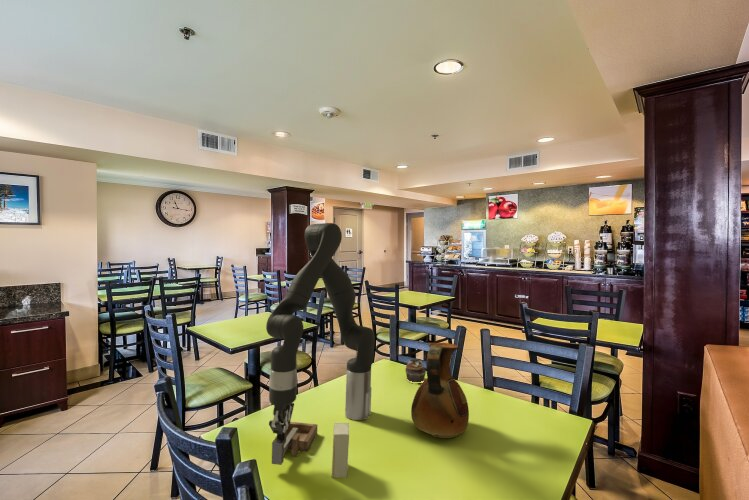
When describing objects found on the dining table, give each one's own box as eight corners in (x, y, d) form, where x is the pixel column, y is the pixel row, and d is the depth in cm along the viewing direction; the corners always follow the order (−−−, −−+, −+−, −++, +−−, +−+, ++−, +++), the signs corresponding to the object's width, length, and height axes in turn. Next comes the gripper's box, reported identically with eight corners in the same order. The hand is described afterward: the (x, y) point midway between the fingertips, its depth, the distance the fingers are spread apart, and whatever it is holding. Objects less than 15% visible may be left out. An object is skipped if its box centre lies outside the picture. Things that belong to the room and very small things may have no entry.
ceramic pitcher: (472, 423, 128) (475, 341, 127) (461, 452, 109) (465, 357, 109) (420, 411, 136) (423, 334, 135) (402, 436, 118) (405, 347, 117)
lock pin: (299, 436, 111) (300, 417, 111) (281, 464, 96) (281, 443, 96) (291, 435, 111) (291, 416, 111) (271, 463, 97) (272, 442, 97)
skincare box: (332, 464, 102) (333, 422, 101) (347, 463, 102) (348, 422, 102) (331, 478, 95) (332, 434, 95) (347, 478, 96) (349, 434, 95)
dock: (317, 433, 117) (317, 418, 117) (303, 457, 104) (304, 440, 104) (287, 430, 119) (287, 415, 119) (270, 454, 105) (271, 436, 105)
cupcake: (404, 383, 162) (405, 362, 162) (406, 376, 172) (406, 355, 172) (425, 385, 161) (426, 363, 161) (425, 377, 170) (426, 357, 170)
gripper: (286, 394, 93) (284, 459, 93) (303, 376, 106) (301, 433, 106) (260, 392, 94) (258, 456, 94) (280, 374, 107) (278, 430, 107)
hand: (281, 443), depth 100 cm, fingers closed
